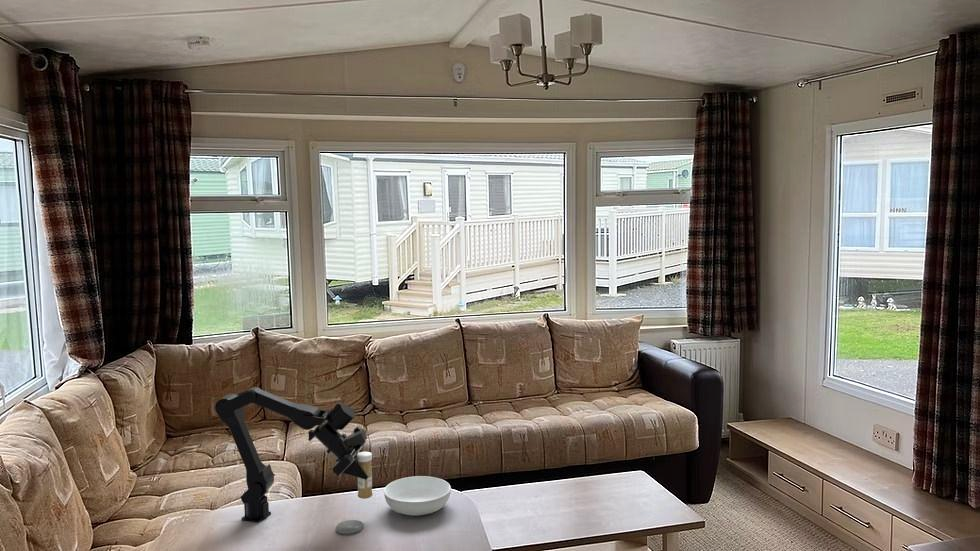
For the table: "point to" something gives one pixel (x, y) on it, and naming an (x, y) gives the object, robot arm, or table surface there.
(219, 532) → the table surface
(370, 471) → the sprinkles bottle
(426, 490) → the serving bowl
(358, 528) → the coaster
